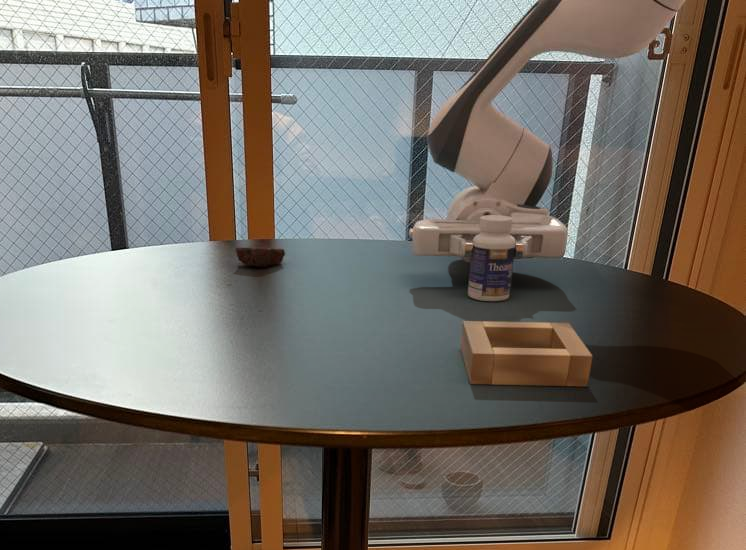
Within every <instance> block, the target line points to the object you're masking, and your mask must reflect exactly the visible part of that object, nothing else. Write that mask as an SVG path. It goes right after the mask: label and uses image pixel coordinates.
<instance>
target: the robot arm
mask: <svg viewBox="0 0 746 550" xmlns="http://www.w3.org/2000/svg"><path fill="white" fill-rule="evenodd" d="M686 1H687V0H537V1H536V2H535V3H534V4H533V5H532V6H531V7H530V8H529V10H528V11H527V12H526V13H525V14H524V15H523V16H522V17H521V18H520V20H519V21H518V22H517V23H516V24H515V25H514V26H513V27H512V29H510V31H509V32H508V33H507V35H505V37H504V38H503V39H502V40H501V41H500V42H499V43H498V44H497V46H496V47H495V48H494V49H493V51H492V52H491V53H490V54H489V55H488V57H487V58H486V59H485V60H484V61H483V62H482V64H481V65H479V67H478V68H477V69H476V70H475V72H474V73H473V74H472V75H471V76H470V77H469V78H468V80H467V81H466V82H465V83H464V84H462V85H461V87H460V88H459V89H458V90H457V91H456V92H454V94H452V96H451V97H449V98H448V99H447V100H446V101H445V102H444V103H443V104H442V105H441V107H440V108H439V109H438V110H437V112H436V113H435V115H434V117H433V119H432V120H431V123H430V125H429V128H428V131H427V134H426V140H427V145H428V149H429V153H430V155H431V158H432V161H433V163H434V164H436V165H438V166H439V167H442V168H444V169H446V170H448V171H449V172H452V173H455V174H457V175H459V177H462V179H465V180H466V181H467V182H469V183H470V184H472V185H473V186H469V187H466V188H465V189H462V190H461V191H459V192H458V193H457V194H456V195H455V197H453V198H452V200H451V202H450V204H449V206H448V209H447V213H446V219H421V220H418V221H417V222H415V224H414V225H413V228H410V229H409V231H408V236H409V238H410V239H412V242H411V243H412V246H411V247H412V248H411V251H412V254H413V255H415V256H419V257H460V258H461V259H462V260H463V261H464V262H466V263H467V264H471V257H472V255H473V251H472V249H473V239H474V237H475V236H476V235H478V234H480V233H481V230H480V229H479V224H480V217H481V216H486V215H501V216H508V217H511V218H512V228H511V231H509V235H511V236H512V237H514V239H515V253H514V260H519V259H534V258H535V259H537V258H538V259H539V258H544V259H545V258H546V259H547V258H549V259H560V258H563V257H564V256H565V255H566V251H567V246H568V245H567V244H568V235H569V230H568V228H567V226H566V225H565V223H563V222H562V221H560V219H558V218H557V217H554V216H551V215H549V209H548V208H546V207H543V206H537V205H538V203H539V202H540V201H541V199H542V197H543V196H544V195H545V192H546V191H547V189H548V187H549V184H550V182H551V180H552V176H553V169H554V168H553V165H554V164H553V163H554V161H553V160H554V159H553V152H552V148H551V147H552V146H551V145H550V144H548V143H547V142H546V141H544V139H542V138H540V137H539V136H538V135H536V134H535V133H533V132H532V131H530V130H529V129H527V127H524V126H521V125H520V124H519V123H518V122H516V121H514V120H513V119H512V118H510V117H508V116H507V115H506V114H504V113H503V112H501V111H500V110H499V109H497V108H496V107H495V106H494V105H493V103H492V102H493V101H494V100H495V98H497V97H498V95H499V94H501V92H502V91H503V90H504V88H506V86H507V85H508V84H509V83H510V82H511V81H512V80H513V79H514V77H515V76H516V75H517V74H518V73H519V72H520V71H521V70H522V69H523V68H524V66H525V65H526V64H528V62H530V61H531V60H532V59H533V58H535V57H536V56H538V55H542V54H545V53H550V52H551V53H552V52H560V53H561V52H562V53H570V54H575V55H576V54H577V55H580V56H584V57H585V56H586V57H591V58H593V59H594V58H595V59H605V60H607V59H608V60H609V59H612V60H613V59H620V58H626V57H629V56H633V55H635V54H638V53H639V52H641V51H643V50H644V49H646V48H647V47H648V46H649V45H650V44H651V43H652V42H653V41H654V40H655V39H656V38H657V37H658V36H659V35H660V34H661V33H662V32H663V31H664V29H665V28H666V27H667V26H668V25H669V23H670V22H671V21H672V19H673V18H674V17H675V16H676V14H677V13H678V12H679V10H680V9H681V8H682V6H683V5H684V3H686Z"/></svg>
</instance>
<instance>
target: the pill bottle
mask: <svg viewBox="0 0 746 550" xmlns="http://www.w3.org/2000/svg"><path fill="white" fill-rule="evenodd" d="M511 228H512V218H511V217H508V216H501V215H486V216H481V217H480V224H479V229H480V230H481V233H480V234H478V235H476V236H475V237H474V239H473V249H472V251H473V255H472V257H471V264H470V263H469V264H470V265H469V275H468V288H467V296H468V297H469V298H471V299H473V300H477V301H482V302H501V301H506V300H507V299H509V298H510V292H511V287H512V277H513V271H514V260H515V259H514V253H515V239H514V237H512V236H511V235H509V231H511Z"/></svg>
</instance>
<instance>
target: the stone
mask: <svg viewBox="0 0 746 550" xmlns="http://www.w3.org/2000/svg"><path fill="white" fill-rule="evenodd" d="M235 252H236V256H237V260H238V262H241V263H242V264H243V265H245V266H247V267H249V266H253V267H257V268H261V267H262V268H264V267H269V266H273V265H274V266H275V265H279V264H280V263H283V260H284V257H285V255H286V252H285V249H284V248H273V247H272V248H271V247H249V246H248V247H235Z"/></svg>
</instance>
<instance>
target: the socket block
mask: <svg viewBox="0 0 746 550" xmlns="http://www.w3.org/2000/svg"><path fill="white" fill-rule="evenodd" d="M461 325H462V326H461V339H460V352H461V355H462V359H463V363H464V366H465V370H466V374H467V377H468V378H467V379H468V381H469V385H494V386H495V385H496V386H535V387H536V386H539V387H541V386H542V387H579V388H581V387H585V388H586V387H588V386H589V380H590V374H591V368H592V362H593V355H592V353H591V352H590V350H589V349H588V347H587V346H586V345H585V343H584V342H583V341H582V339H581V338H580V336H579V335H578V334H577V332H576V331H575V329H574V328H573V326H572V325H571V323H570V322H535V321H533V322H532V321H488V320H487V321H485V320H483V321H482V320H463V321H462V324H461Z"/></svg>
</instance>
